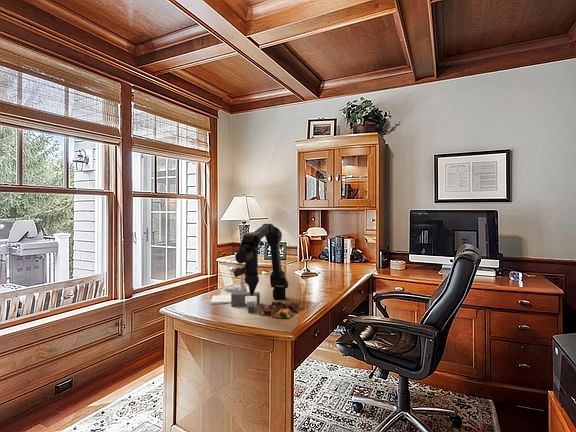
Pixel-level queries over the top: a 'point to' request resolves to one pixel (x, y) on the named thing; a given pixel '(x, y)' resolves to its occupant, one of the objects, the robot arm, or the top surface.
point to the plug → (250, 305)
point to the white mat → (221, 299)
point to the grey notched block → (242, 298)
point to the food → (280, 309)
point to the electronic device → (236, 289)
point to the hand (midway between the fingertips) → (251, 294)
